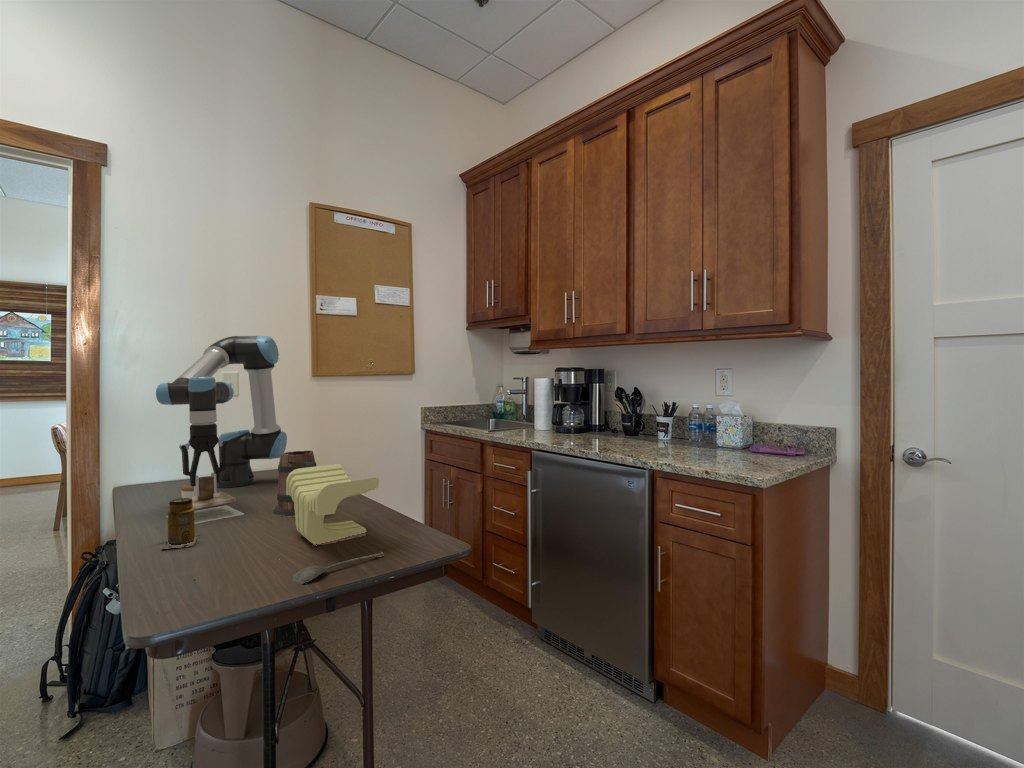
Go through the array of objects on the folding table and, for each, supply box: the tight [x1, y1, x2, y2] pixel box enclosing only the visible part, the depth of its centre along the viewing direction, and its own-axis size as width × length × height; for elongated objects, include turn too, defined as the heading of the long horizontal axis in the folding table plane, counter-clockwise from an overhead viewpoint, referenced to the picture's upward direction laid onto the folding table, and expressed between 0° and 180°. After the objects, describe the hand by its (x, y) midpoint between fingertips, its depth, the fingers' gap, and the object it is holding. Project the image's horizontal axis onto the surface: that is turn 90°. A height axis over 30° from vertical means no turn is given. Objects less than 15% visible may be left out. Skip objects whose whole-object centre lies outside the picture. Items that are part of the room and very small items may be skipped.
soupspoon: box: [292, 551, 384, 583], centre depth 113 cm, size 22×3×7 cm
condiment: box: [167, 497, 196, 545], centre depth 132 cm, size 7×8×12 cm
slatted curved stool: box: [286, 463, 380, 546], centre depth 137 cm, size 30×16×18 cm, turn 38°
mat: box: [165, 504, 245, 525], centre depth 160 cm, size 18×18×1 cm
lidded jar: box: [180, 483, 194, 498], centre depth 174 cm, size 11×11×9 cm
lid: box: [189, 476, 237, 510], centre depth 160 cm, size 14×14×8 cm
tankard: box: [272, 450, 317, 516], centre depth 163 cm, size 24×17×20 cm
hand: (205, 494), depth 160 cm, fingers closed on lid, 4 cm apart
